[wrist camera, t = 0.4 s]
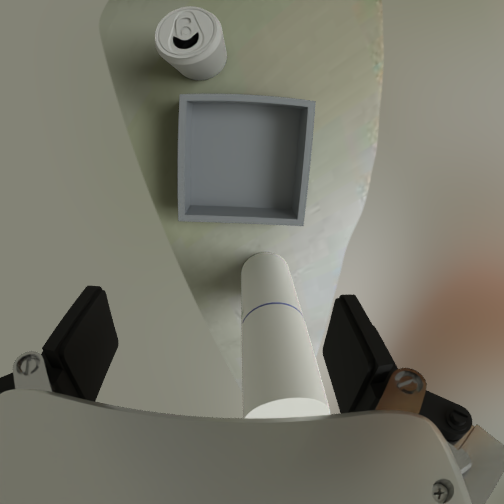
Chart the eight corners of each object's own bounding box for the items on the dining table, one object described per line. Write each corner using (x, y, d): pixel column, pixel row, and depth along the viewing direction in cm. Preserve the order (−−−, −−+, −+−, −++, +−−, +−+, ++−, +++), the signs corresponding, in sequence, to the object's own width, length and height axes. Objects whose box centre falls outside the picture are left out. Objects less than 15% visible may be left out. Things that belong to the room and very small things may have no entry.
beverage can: (179, 84, 31) (152, 68, 20) (176, 41, 29) (149, 10, 18) (229, 78, 31) (223, 56, 20) (225, 34, 29) (219, -2, 18)
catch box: (187, 98, 32) (179, 94, 28) (306, 104, 33) (315, 101, 28) (185, 209, 38) (178, 221, 34) (295, 213, 39) (303, 226, 35)
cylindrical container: (298, 265, 43) (347, 406, 20) (273, 301, 45) (296, 445, 22) (256, 243, 41) (274, 388, 18) (232, 282, 43) (227, 431, 21)
